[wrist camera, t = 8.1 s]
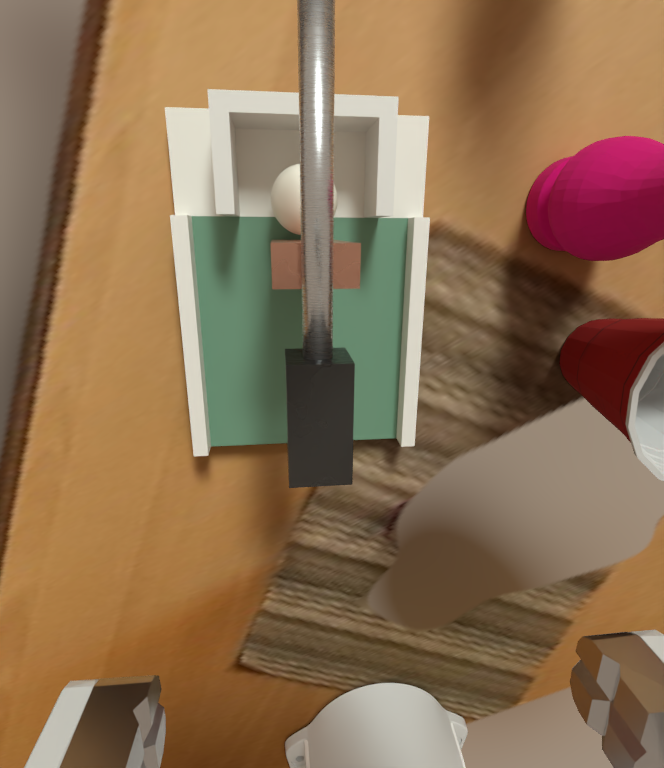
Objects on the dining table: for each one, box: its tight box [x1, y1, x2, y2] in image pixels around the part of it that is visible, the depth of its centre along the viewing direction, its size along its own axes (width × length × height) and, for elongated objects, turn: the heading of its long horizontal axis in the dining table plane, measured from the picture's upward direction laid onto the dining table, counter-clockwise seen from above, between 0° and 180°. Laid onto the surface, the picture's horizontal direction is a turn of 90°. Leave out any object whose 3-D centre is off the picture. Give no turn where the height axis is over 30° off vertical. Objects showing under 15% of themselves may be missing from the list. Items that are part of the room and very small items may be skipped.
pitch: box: [165, 89, 430, 456], centre depth 30 cm, size 22×16×6 cm
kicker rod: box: [271, 0, 361, 488], centre depth 24 cm, size 23×4×12 cm, turn 0°
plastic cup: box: [559, 318, 664, 481], centre depth 31 cm, size 11×11×12 cm
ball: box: [271, 164, 338, 235], centre depth 28 cm, size 4×4×4 cm
